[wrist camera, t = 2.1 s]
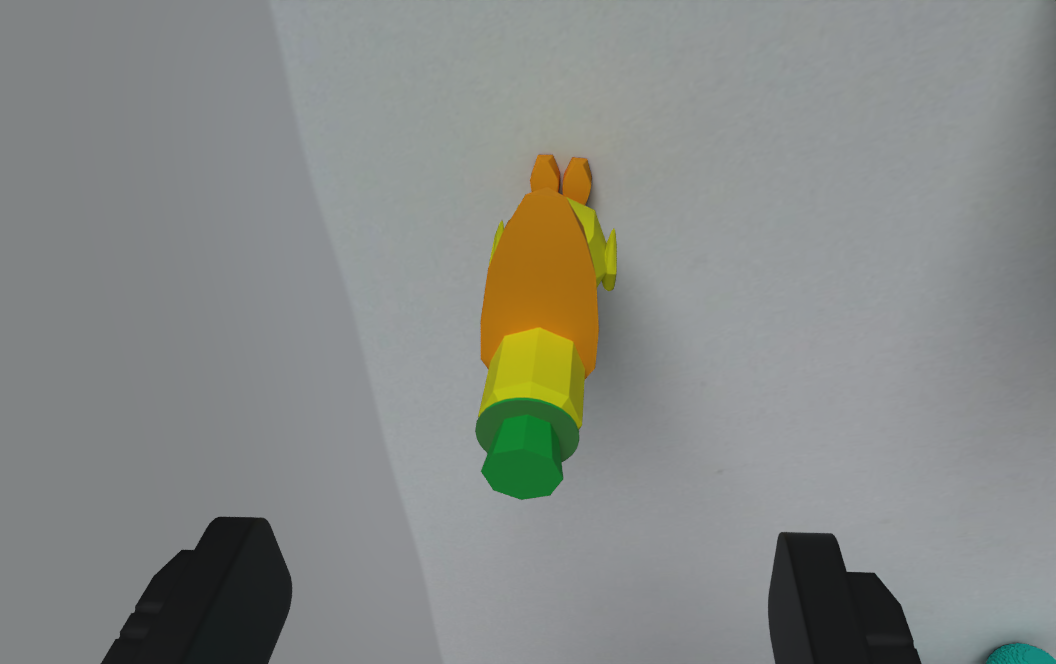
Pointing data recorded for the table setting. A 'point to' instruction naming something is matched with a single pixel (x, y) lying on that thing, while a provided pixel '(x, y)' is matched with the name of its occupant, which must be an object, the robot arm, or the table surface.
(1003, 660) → the teal balls purple stick
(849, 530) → the table surface
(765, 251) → the table surface
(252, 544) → the robot arm
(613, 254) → the toy figure
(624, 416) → the table surface
